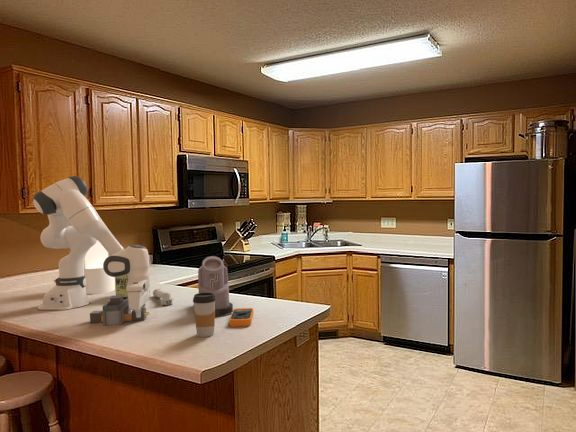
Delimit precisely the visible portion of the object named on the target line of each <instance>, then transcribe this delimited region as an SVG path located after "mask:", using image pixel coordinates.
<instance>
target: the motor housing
mask: <svg viewBox="0 0 576 432" xmlns="http://www.w3.org/2000/svg"><path fill="white" fill-rule="evenodd" d="M102 311H103V322H102V323H103V324H102V325H103V326H104V327H106V326H112V325H113V326H115V325H118V326H121V325H123V324H124V322H125V321H124V314H128V313H131V312H132V310H130V308H129V302H128V298H127V299H126V300H123V295H120V296H116V295H113V296H111V297H110V298H109V301H108V302H106V303H105V304H104V305H103V306H102Z"/></svg>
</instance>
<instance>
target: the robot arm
mask: <svg viewBox="0 0 576 432" xmlns="http://www.w3.org/2000/svg"><path fill="white" fill-rule="evenodd" d="M87 195H88V186H87V184H86V182H85V181H84V180H83V179H82V178H81V177H80V176H77V175H72V176H68V177H67V178H65V179H61V180H59V181H57V182H54V183H53V184H51V185H49V186H47V187H45V188H43V189H42V190H39V191H37V192H36V193H35V194H34V195H33V196H32V202H33V206H34V207H35V209H36V210H37V211H38V212H39V213H40V214H41V215H46V216H47V219H48V222H49V223H48V225H47V227H45V228H43V230H42V232H41V233H40V239H39V240H40V243H41V244H42V245H43V246H44V247H45V248H48V249H55V250H56V249H57V250H58V249H59V250H60V249H70V252H69V254H67V255H65V256H64V257H62V258H60V260H59V262H58V277H57V278H55V279H53V281H54V282H53V283H55V285H54V286H53V287H52V288H50V289H49V290H48V291H47V292H46V293H45V294H44V295H43V298H42V303H41V304H39V305H38V306H37V310H40V311H42V310H44V311H45V310H47V311H48V310H50V311H51V310H52V311H53V310H56V311H58V310H60V311H61V310H62V311H64V310H65V311H66V310H70V309H71V310H72V309H75V308H79V307H84V306H87V305H89V304H90V301H89V298H88V294H87V293H86V288H85V286H86V278H85V275H84V259H85V256H86V254H87V252H88V250H89V249H90V248H91V247H92V246H94V245H95V244H96V242H97V240H98V241H99V242H100V243H101V244H102V246H103V247H104V248H105V249H106V251H107V252H108V257H107V258H106V259H105V261H104V263H103V269H104V271H105V273H106V274H107V275H109V276H111V277H119V276H122V275H128V284H127V287H126V291H127V292H128V302H129V308H130V310H131V311H133V310H135V312H136V317H137V318H140V317H141V309H142V308H146V303H147V302H148V301H149V300H150V298H151V297H150V296H151V295H150V294H149V287H151V276H150V275H151V274H150V256H149V250H148V249H147V247H145V246H143V245H141V244H130V245H128V246H127V247H126V248H125V247H124V246H123V245H122V244H121V242H119V240H118V238H117V237H116V236H115V234H114V233H113V232H112V231H111V230H110V229H109V228H108V226H107V225H106V223H105V222H104V221H103V220H102V218H101V217H100V214H98V211H96V209H95V208H94V206H93V205H92V204H91V202H90V201H89V200H88V199H87V197H86V196H87Z"/></svg>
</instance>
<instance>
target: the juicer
mask: <svg viewBox="0 0 576 432" xmlns="http://www.w3.org/2000/svg"><path fill="white" fill-rule="evenodd" d="M197 275H198V276H197V277H198V278H197V281H198V282H197V285H198V286H197V287H198V289H197V290H198V293H206V292H208V293H214V296H215V319H216V318H223V317H228V316H231V315H232V313H233V310H234V308H233V306H234V304H233V303H232V302H230V288H229V287H230V285H229V284H230V283H229V274H228V267H227V266H226V265H225V264H224V261H223V260H222V259H221V258H220V257H218V256H215V255H211V256H207V257H205V258H204V259H203V260H202V262H201V266H200V267H199V268H198V271H197Z"/></svg>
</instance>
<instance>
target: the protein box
mask: <svg viewBox="0 0 576 432" xmlns="http://www.w3.org/2000/svg"><path fill="white" fill-rule="evenodd" d="M127 284H128V275H122V276H119V277H115V290H114V291H115V296H120V295H123V299H124V300H126V299H127V298H128V292H127V291H126V287H127ZM150 287H151V286H150ZM150 287H149V293H151V292H150Z"/></svg>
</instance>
